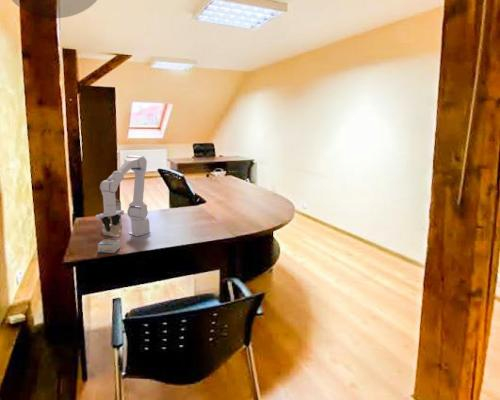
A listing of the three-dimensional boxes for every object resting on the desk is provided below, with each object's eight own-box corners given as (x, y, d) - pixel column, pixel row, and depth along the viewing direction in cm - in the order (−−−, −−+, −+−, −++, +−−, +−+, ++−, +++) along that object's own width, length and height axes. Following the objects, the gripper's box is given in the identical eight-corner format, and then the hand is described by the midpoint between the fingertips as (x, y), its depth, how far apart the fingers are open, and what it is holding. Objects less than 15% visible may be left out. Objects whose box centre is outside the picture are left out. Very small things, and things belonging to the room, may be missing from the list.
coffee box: (106, 225, 223) (104, 199, 220) (116, 223, 228) (115, 198, 224) (111, 228, 217) (109, 202, 213) (122, 226, 221) (120, 200, 217)
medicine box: (120, 239, 186) (113, 244, 177) (120, 247, 187) (114, 253, 178) (104, 238, 186) (97, 244, 177) (105, 247, 187) (97, 252, 178)
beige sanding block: (108, 233, 191) (107, 223, 190) (121, 235, 184) (120, 225, 183) (102, 234, 189) (101, 224, 188) (115, 236, 181) (114, 227, 181)
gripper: (118, 200, 191) (119, 225, 194) (91, 205, 180) (93, 231, 183) (126, 202, 187) (127, 228, 190) (99, 207, 176) (101, 234, 178)
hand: (111, 230), depth 186 cm, fingers closed on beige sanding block, 3 cm apart
